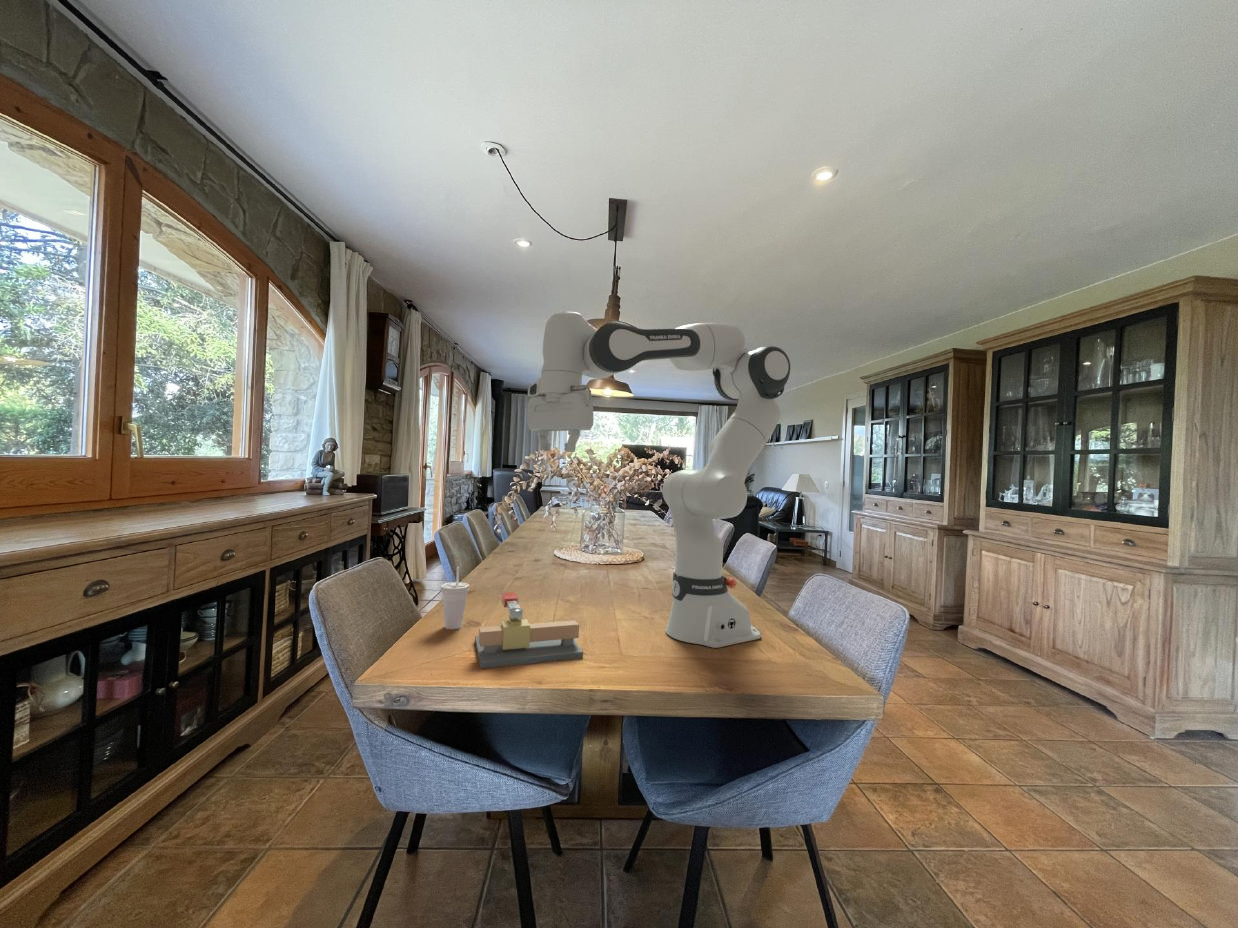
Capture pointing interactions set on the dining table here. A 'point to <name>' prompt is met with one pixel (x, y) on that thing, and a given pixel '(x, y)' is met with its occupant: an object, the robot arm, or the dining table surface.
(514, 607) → the lever
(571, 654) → the board
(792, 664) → the dining table surface
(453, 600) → the smoothie
